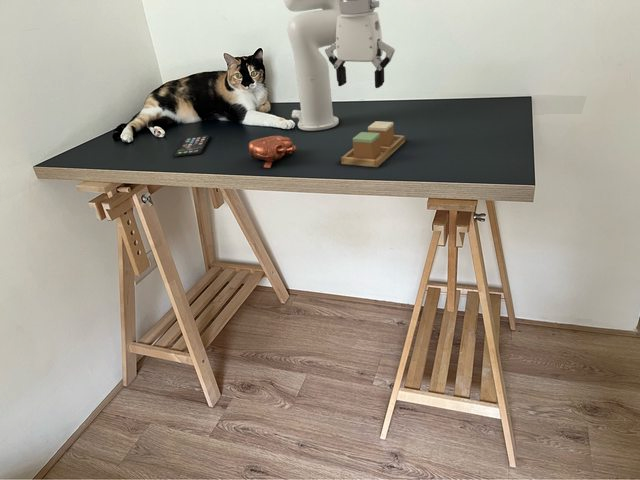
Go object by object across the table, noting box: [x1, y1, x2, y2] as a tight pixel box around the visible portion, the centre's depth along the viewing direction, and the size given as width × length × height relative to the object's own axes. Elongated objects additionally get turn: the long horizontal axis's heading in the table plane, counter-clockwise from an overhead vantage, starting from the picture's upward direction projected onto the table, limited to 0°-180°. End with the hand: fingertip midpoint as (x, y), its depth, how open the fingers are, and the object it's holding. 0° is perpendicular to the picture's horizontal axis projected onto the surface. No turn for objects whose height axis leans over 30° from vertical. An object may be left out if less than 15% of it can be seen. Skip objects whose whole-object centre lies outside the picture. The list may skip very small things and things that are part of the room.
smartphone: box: [174, 134, 210, 157], centre depth 145 cm, size 7×1×15 cm
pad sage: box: [352, 131, 381, 160], centre depth 120 cm, size 5×5×6 cm
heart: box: [248, 135, 298, 169], centre depth 127 cm, size 6×12×15 cm
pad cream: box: [367, 120, 395, 147], centre depth 127 cm, size 5×5×6 cm
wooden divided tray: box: [340, 134, 406, 168], centre depth 125 cm, size 10×18×2 cm, turn 150°
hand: (360, 85), depth 117 cm, fingers open, 9 cm apart
